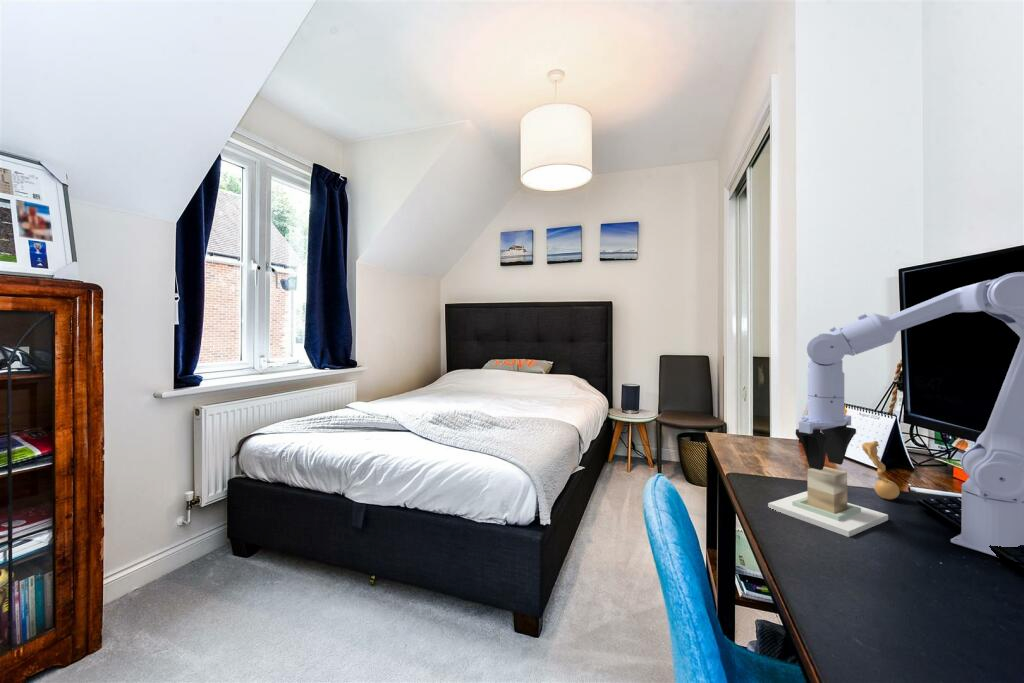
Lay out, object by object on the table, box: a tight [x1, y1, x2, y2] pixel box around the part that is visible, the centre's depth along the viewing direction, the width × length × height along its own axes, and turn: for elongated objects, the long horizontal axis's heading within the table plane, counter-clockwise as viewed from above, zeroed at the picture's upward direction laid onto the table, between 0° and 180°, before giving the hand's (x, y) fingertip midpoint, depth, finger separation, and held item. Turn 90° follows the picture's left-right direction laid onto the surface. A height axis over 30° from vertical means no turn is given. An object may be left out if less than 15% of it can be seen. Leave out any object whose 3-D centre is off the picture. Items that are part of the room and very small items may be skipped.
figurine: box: [861, 440, 900, 500], centre depth 90 cm, size 8×6×12 cm
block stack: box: [806, 466, 848, 514], centre depth 82 cm, size 5×5×8 cm
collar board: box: [767, 490, 889, 538], centre depth 83 cm, size 14×14×2 cm
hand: (825, 465), depth 83 cm, fingers open, 6 cm apart
